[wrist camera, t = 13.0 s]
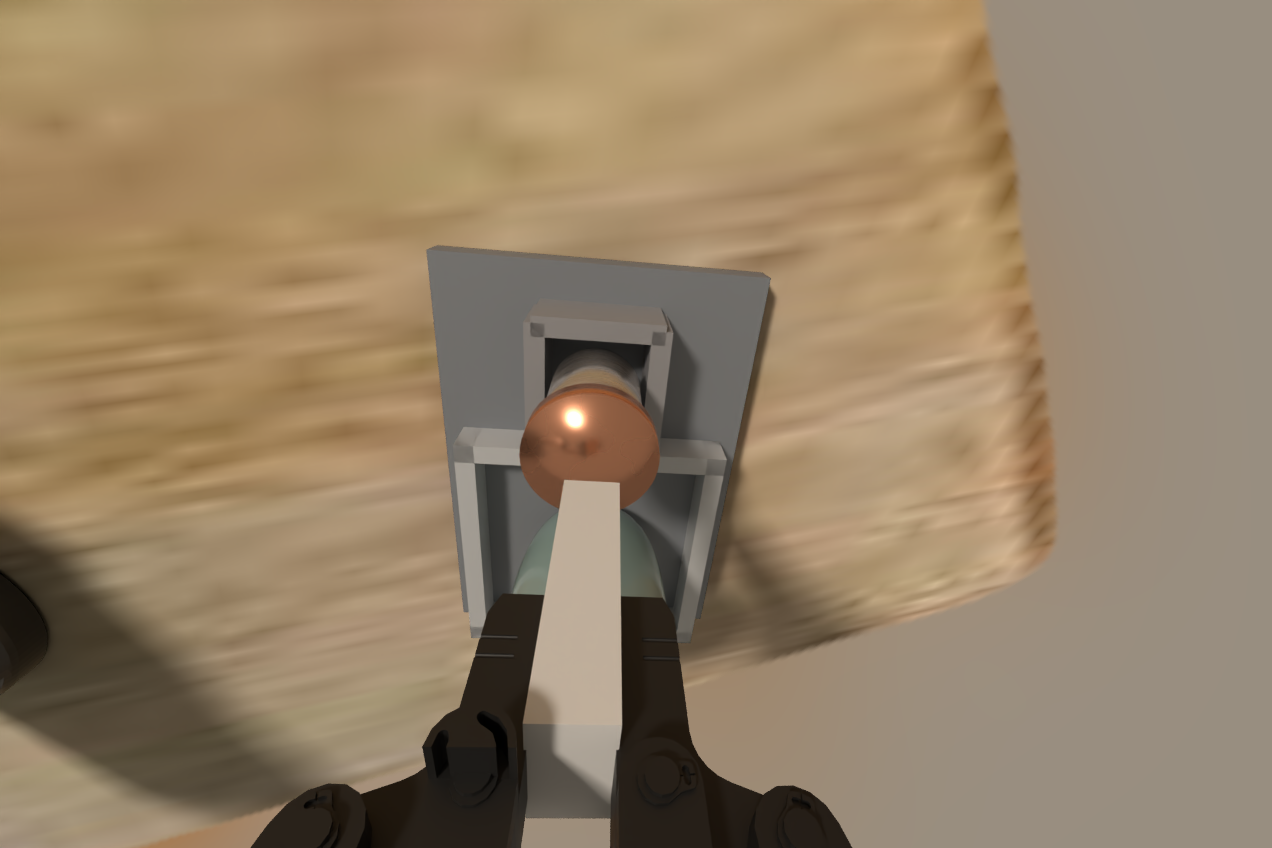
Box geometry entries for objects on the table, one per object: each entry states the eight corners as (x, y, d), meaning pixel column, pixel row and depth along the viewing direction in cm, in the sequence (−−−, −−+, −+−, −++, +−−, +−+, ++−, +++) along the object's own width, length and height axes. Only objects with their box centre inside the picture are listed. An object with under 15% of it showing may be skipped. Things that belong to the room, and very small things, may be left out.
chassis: (469, 594, 34) (449, 654, 30) (437, 245, 23) (398, 260, 19) (697, 601, 35) (708, 659, 31) (762, 272, 25) (792, 292, 20)
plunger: (542, 433, 23) (520, 512, 18) (542, 335, 21) (517, 390, 15) (643, 439, 23) (652, 518, 18) (653, 343, 21) (667, 399, 16)
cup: (586, 457, 27) (572, 592, 18) (682, 530, 30) (710, 679, 21) (502, 538, 30) (454, 693, 21) (597, 599, 32) (592, 760, 23)
